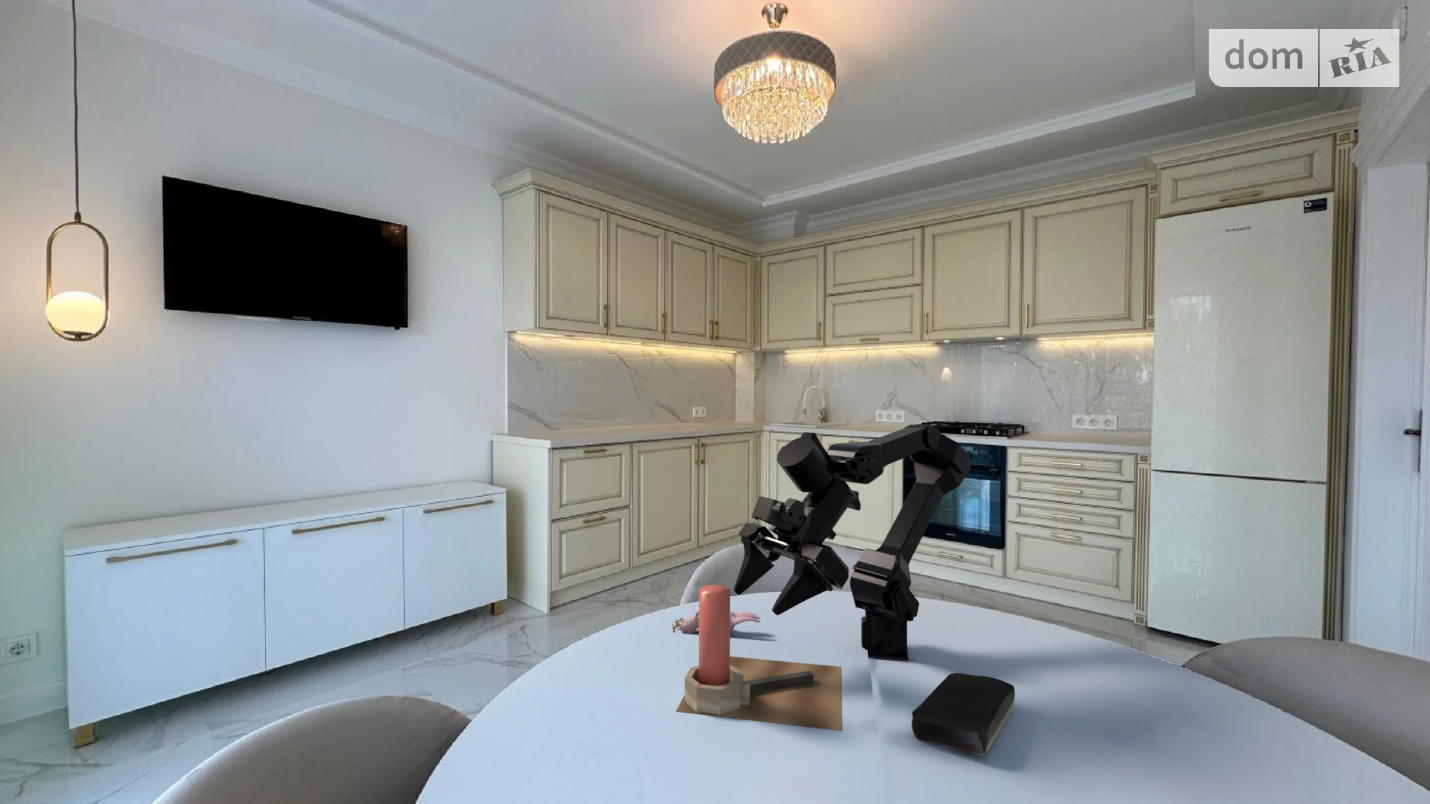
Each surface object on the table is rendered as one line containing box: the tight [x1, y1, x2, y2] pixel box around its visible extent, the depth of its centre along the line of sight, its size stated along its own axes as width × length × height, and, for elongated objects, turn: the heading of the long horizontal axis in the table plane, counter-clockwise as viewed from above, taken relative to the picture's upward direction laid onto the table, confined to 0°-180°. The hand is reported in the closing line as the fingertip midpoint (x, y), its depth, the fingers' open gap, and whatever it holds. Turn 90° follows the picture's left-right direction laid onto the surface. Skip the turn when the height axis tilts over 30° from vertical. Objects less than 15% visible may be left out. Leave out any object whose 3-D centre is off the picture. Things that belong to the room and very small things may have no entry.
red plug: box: [698, 584, 731, 686], centre depth 74 cm, size 4×4×14 cm
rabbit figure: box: [671, 609, 761, 635], centre depth 99 cm, size 6×6×15 cm
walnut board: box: [675, 655, 843, 732], centre depth 78 cm, size 20×17×4 cm
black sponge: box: [911, 672, 1016, 756], centre depth 71 cm, size 16×8×4 cm, turn 140°
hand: (754, 602), depth 78 cm, fingers open, 9 cm apart
